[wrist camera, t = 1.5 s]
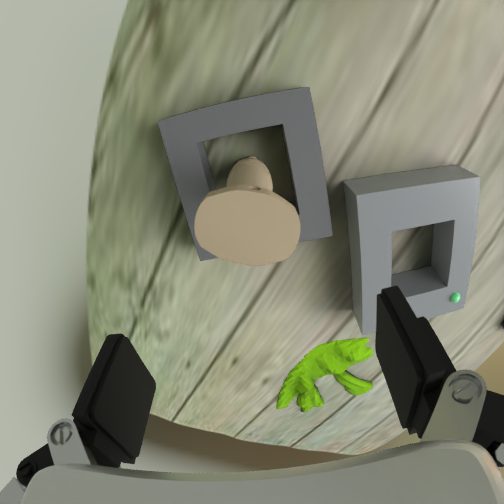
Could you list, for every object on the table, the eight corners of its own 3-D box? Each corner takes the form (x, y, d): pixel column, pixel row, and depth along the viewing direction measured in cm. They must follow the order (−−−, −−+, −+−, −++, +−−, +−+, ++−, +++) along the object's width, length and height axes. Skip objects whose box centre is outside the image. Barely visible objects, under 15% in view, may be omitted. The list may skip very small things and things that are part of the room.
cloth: (373, 319, 43) (377, 330, 41) (390, 394, 52) (393, 404, 50) (243, 363, 47) (243, 375, 45) (291, 425, 56) (292, 435, 54)
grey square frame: (167, 118, 30) (157, 121, 27) (303, 87, 28) (309, 86, 25) (204, 245, 37) (200, 261, 34) (325, 222, 35) (332, 235, 32)
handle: (275, 196, 34) (289, 271, 21) (216, 186, 33) (190, 256, 20) (285, 153, 32) (308, 202, 18) (223, 142, 31) (199, 183, 18)
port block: (343, 180, 33) (358, 198, 28) (456, 164, 31) (484, 179, 26) (353, 310, 41) (364, 339, 36) (447, 287, 40) (466, 311, 34)
